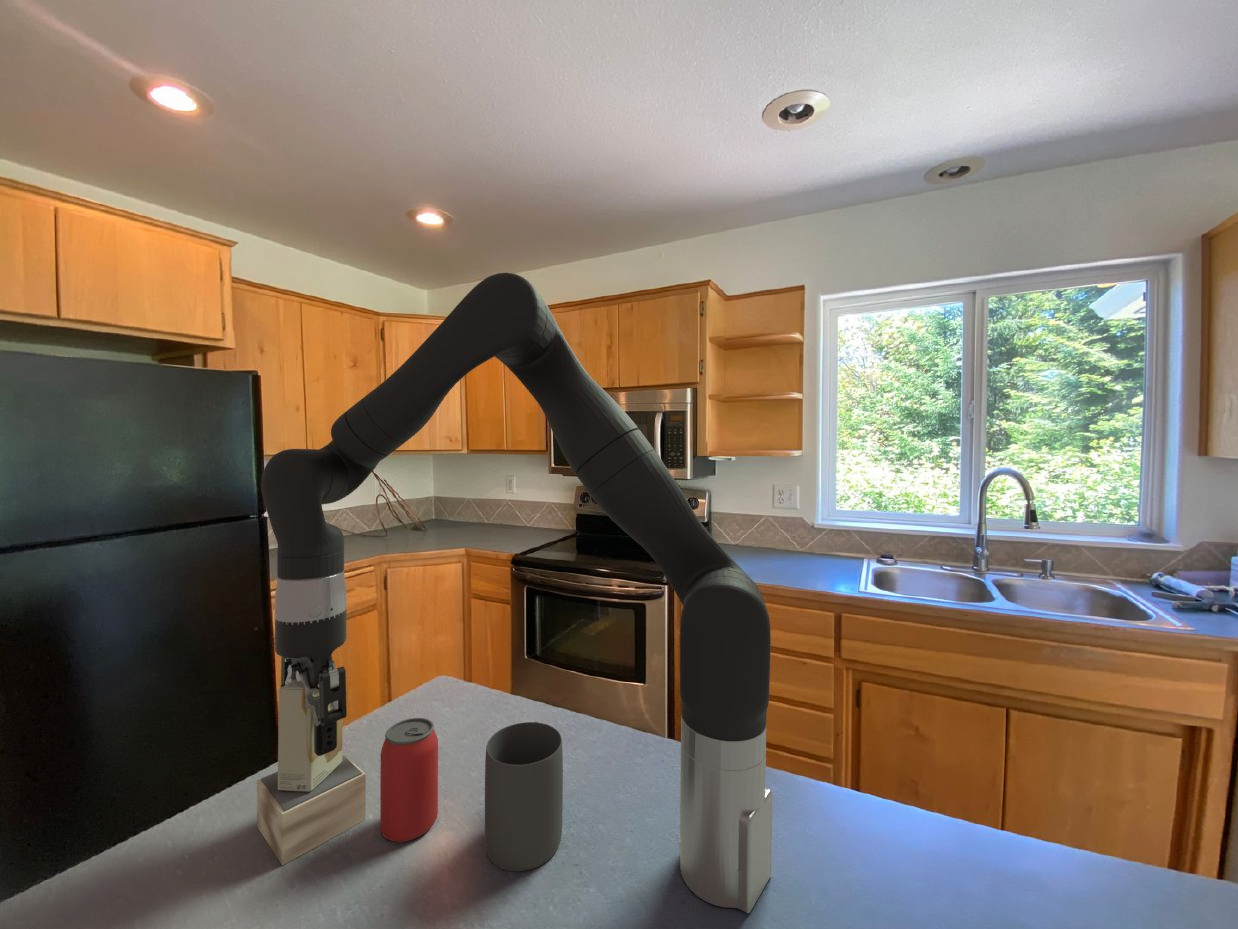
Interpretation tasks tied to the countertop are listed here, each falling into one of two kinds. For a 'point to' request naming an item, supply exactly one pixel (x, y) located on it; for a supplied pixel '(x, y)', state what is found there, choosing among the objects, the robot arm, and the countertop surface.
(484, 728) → the countertop surface
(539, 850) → the mug
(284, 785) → the skincare box
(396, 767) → the beer can
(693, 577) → the robot arm
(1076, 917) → the countertop surface
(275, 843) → the birch plinth
